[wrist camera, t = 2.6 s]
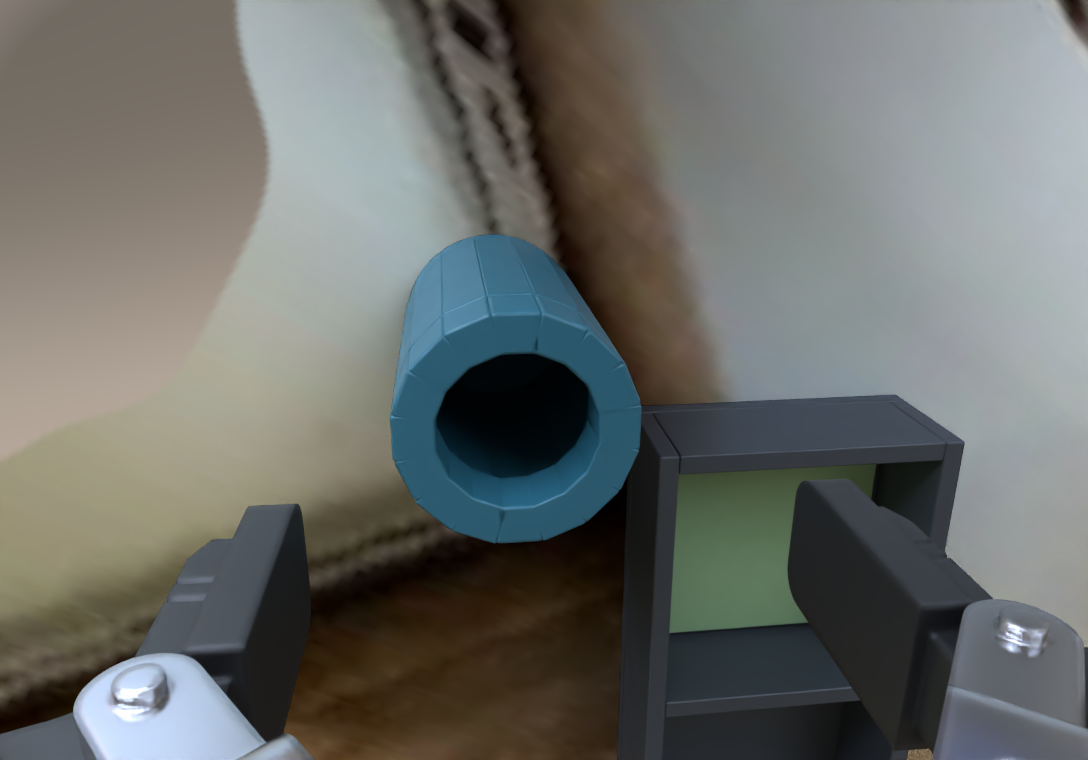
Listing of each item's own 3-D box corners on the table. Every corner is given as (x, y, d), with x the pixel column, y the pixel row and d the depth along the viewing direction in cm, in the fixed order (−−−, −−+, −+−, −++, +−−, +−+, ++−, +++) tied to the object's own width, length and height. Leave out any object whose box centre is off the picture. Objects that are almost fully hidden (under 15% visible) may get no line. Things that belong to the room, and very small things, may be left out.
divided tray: (614, 821, 33) (637, 915, 29) (629, 405, 27) (659, 457, 23) (835, 799, 34) (883, 887, 30) (895, 393, 28) (966, 441, 24)
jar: (412, 400, 26) (398, 551, 18) (402, 235, 24) (382, 316, 16) (575, 393, 27) (636, 536, 18) (577, 232, 25) (646, 307, 17)
